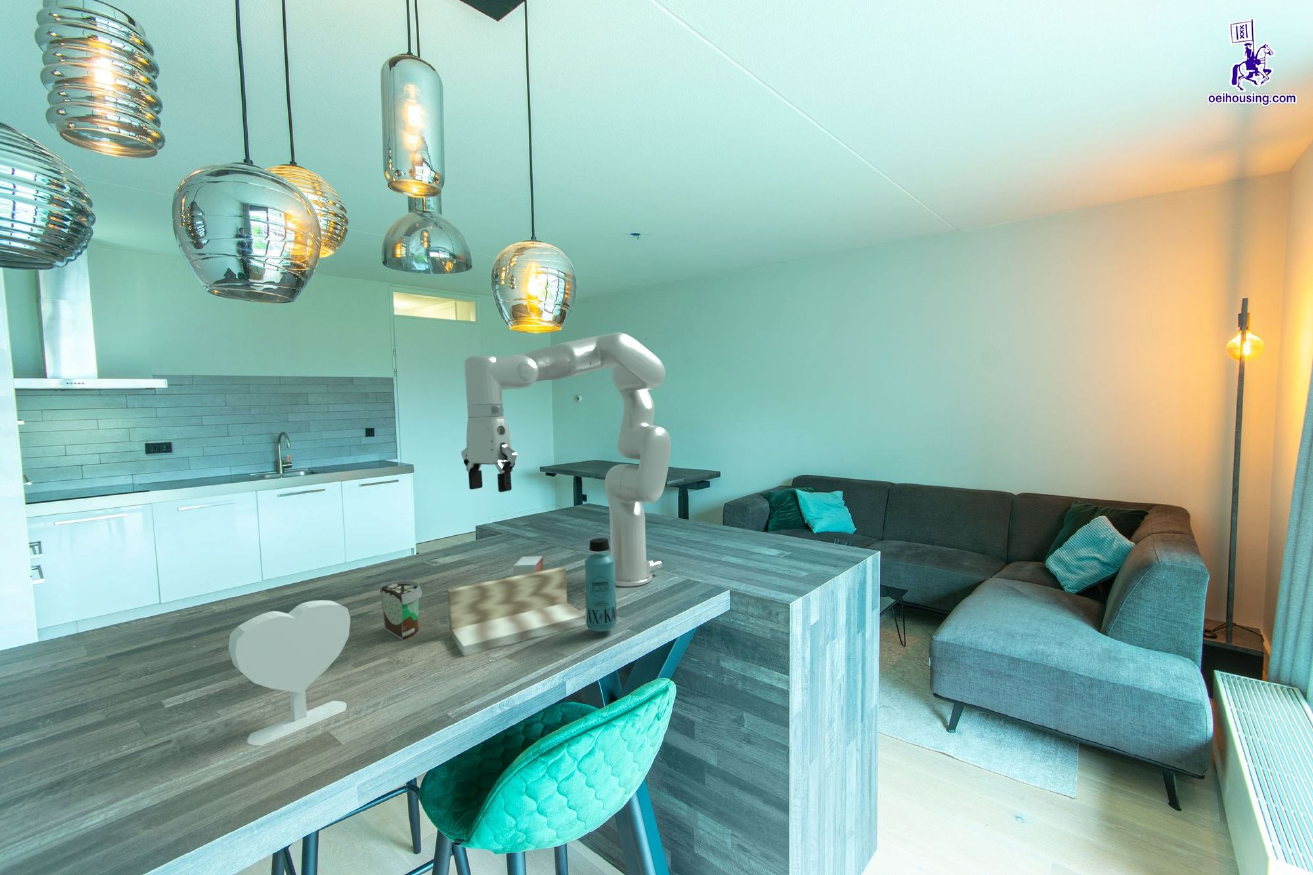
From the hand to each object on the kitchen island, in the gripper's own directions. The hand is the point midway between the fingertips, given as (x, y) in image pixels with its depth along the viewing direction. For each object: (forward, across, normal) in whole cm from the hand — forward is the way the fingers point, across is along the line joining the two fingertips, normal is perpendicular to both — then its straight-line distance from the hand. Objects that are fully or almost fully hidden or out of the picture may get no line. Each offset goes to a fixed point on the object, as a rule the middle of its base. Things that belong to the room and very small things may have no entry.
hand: (490, 489), depth 124 cm
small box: (+30, +3, -12) cm, 33 cm away
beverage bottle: (+30, -24, -7) cm, 40 cm away
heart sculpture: (+30, -5, +43) cm, 53 cm away
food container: (+30, +14, +13) cm, 36 cm away
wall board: (+30, -9, +1) cm, 31 cm away
